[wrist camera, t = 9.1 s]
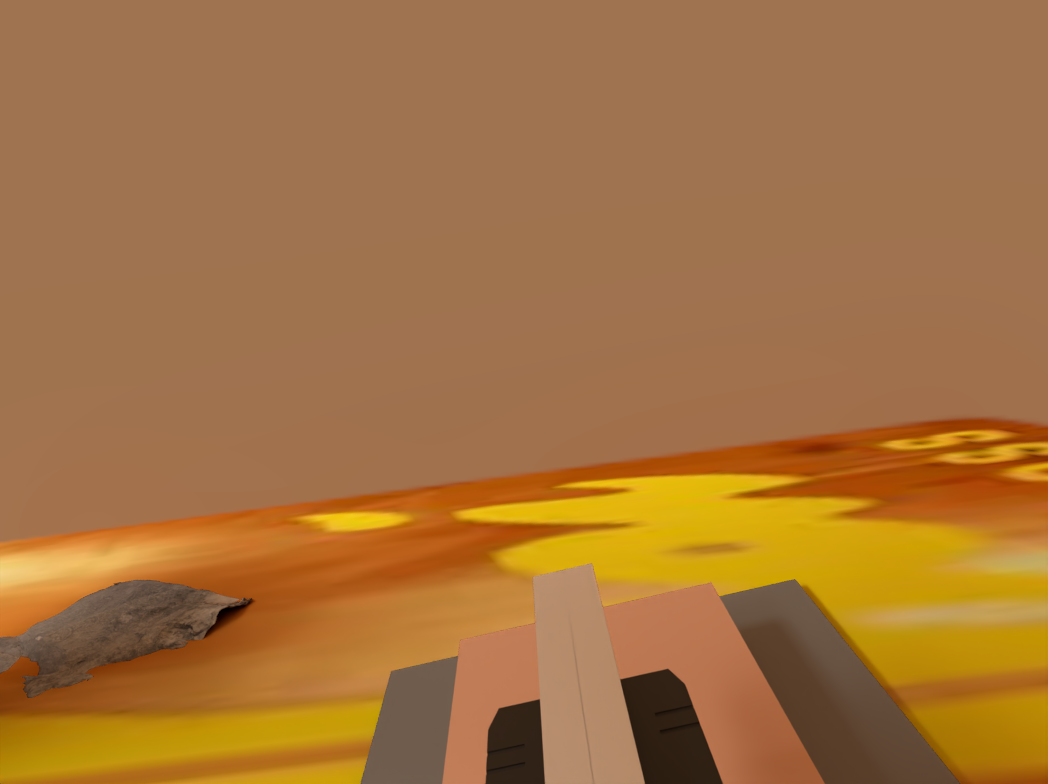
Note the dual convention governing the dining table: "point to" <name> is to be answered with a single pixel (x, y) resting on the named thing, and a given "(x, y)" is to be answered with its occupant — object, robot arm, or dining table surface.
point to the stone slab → (112, 630)
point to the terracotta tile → (641, 647)
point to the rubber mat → (787, 664)
